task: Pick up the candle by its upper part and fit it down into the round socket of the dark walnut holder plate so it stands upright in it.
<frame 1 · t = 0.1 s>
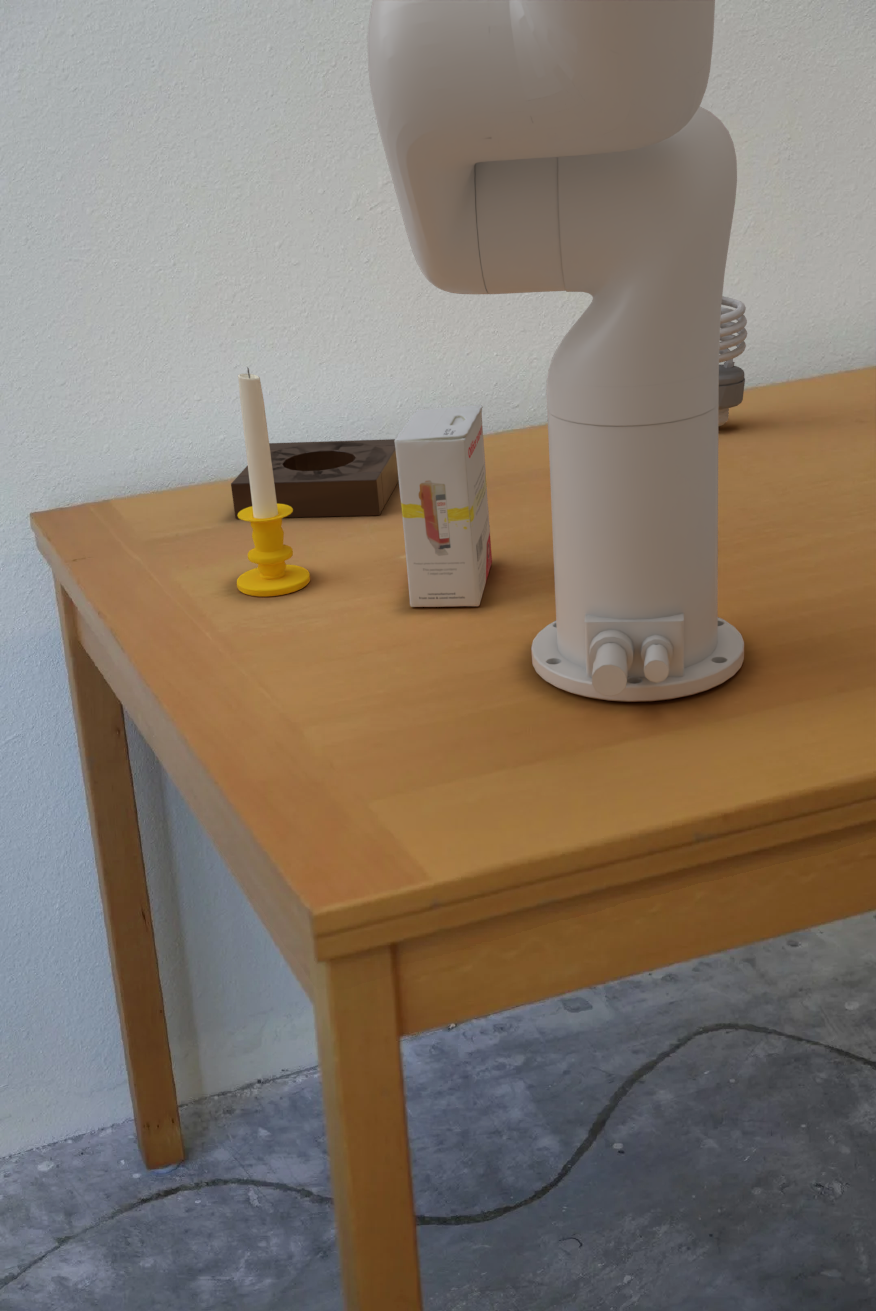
ink box: (452, 588, 103), on the table
holder: (322, 494, 125), on the table
light bulb: (714, 430, 135), on the table
candle: (274, 586, 106), on the table
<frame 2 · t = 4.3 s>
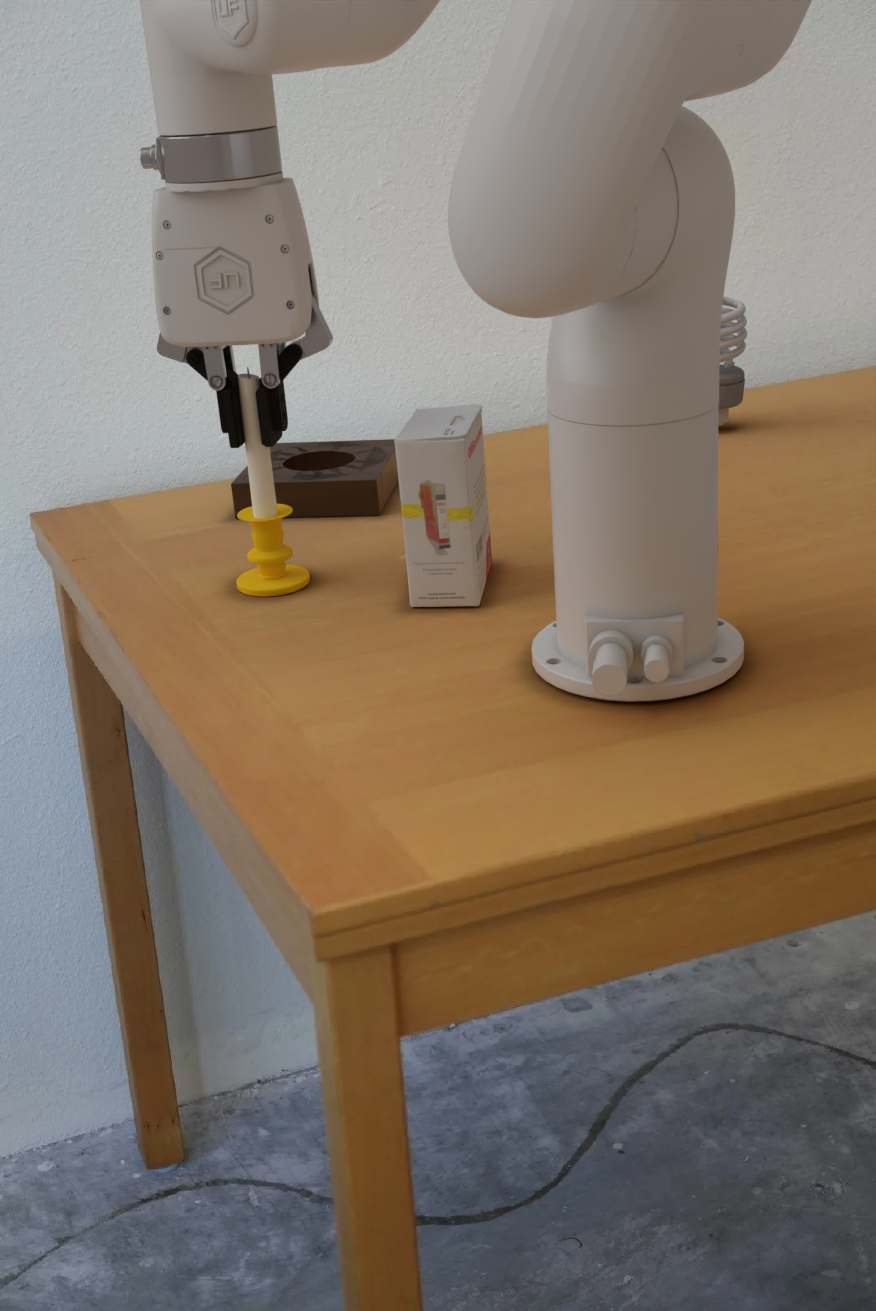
hand: (256, 440, 101), 11 cm above the table, tool pointing down, fingers closed on candle
candle: (274, 586, 106), on the table, touching gripper
everything else where it was.
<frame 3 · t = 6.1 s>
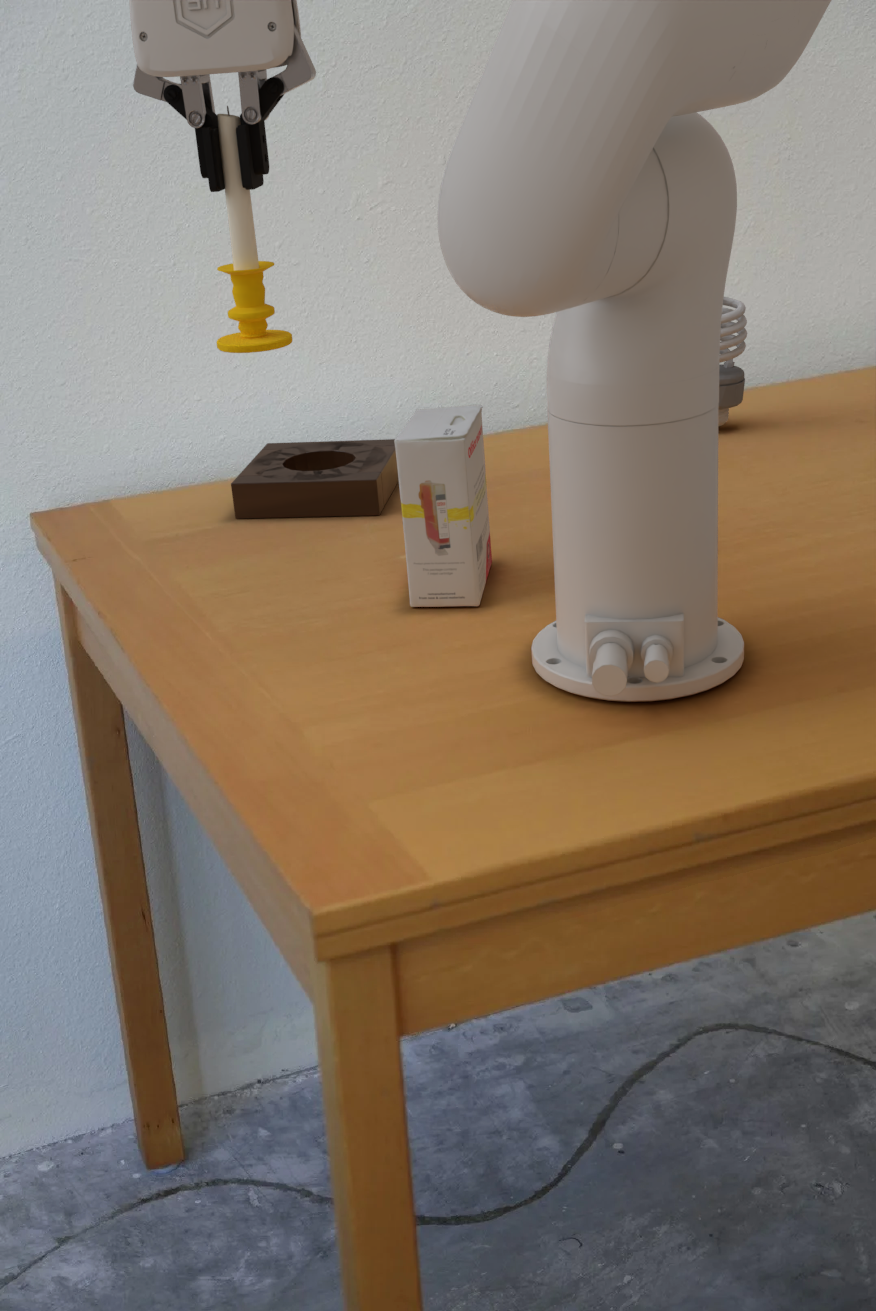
hand: (237, 186, 98), 27 cm above the table, tool pointing down, fingers closed on candle
candle: (255, 347, 102), point 16 cm above the table, touching gripper
everything else where it was.
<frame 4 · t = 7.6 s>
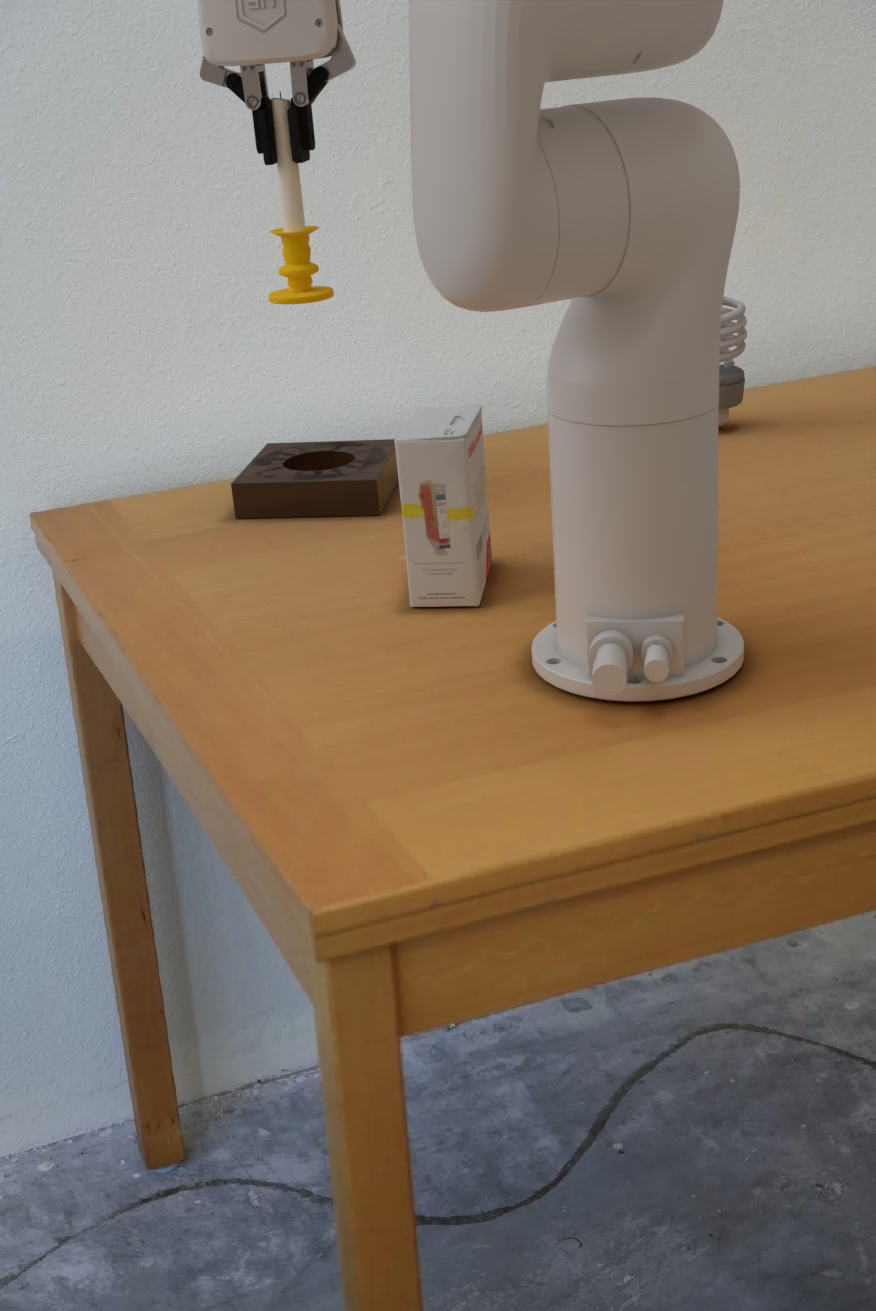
hand: (287, 160, 114), 27 cm above the table, tool pointing down, fingers closed on candle
candle: (301, 300, 118), point 16 cm above the table, touching gripper
everything else where it was.
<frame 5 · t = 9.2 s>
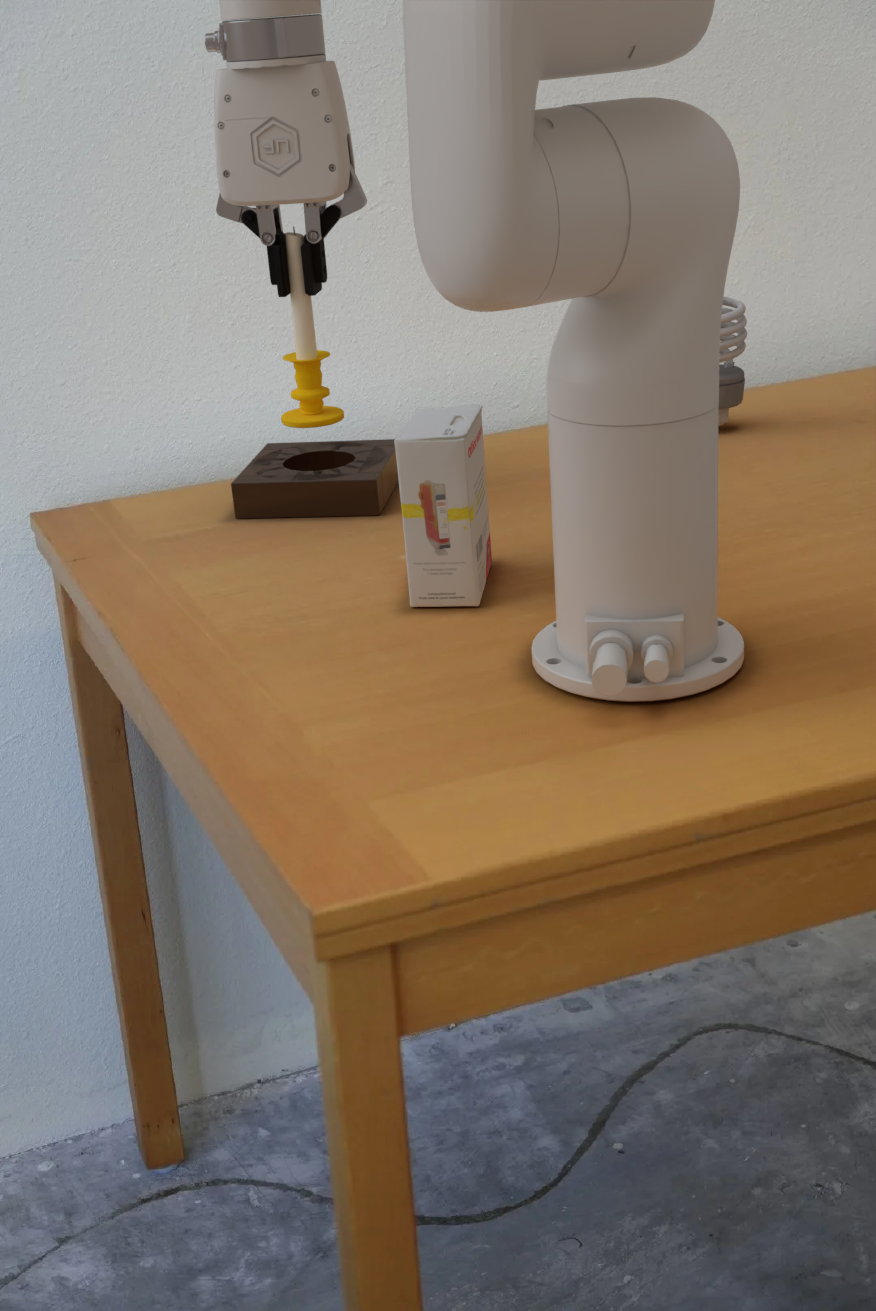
hand: (300, 291, 118), 17 cm above the table, tool pointing down, fingers closed on candle
candle: (313, 422, 122), point 6 cm above the table, touching gripper
everything else where it was.
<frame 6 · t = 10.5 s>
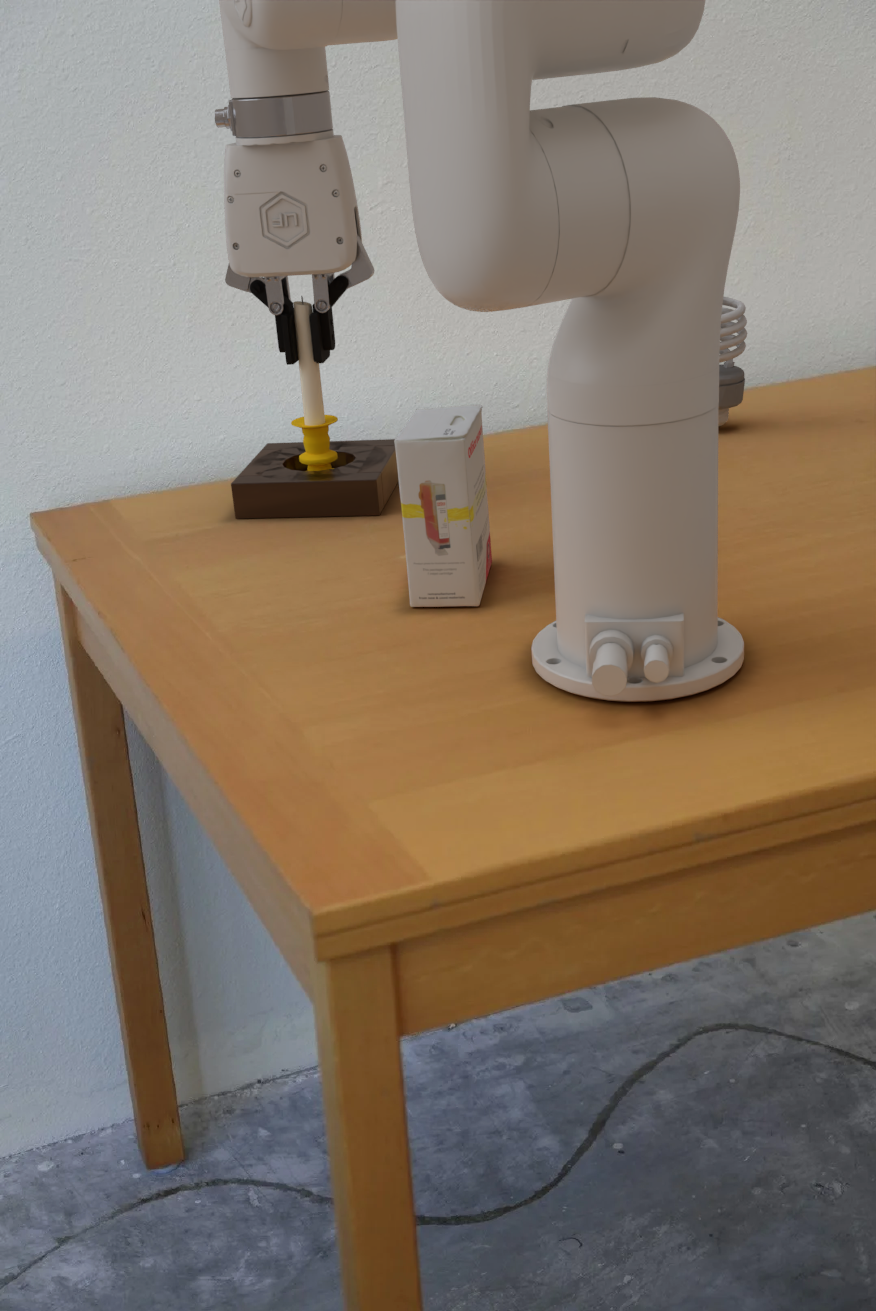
hand: (308, 358, 120), 12 cm above the table, tool pointing down, fingers closed on candle
candle: (321, 485, 124), point 1 cm above the table, touching gripper
everything else where it was.
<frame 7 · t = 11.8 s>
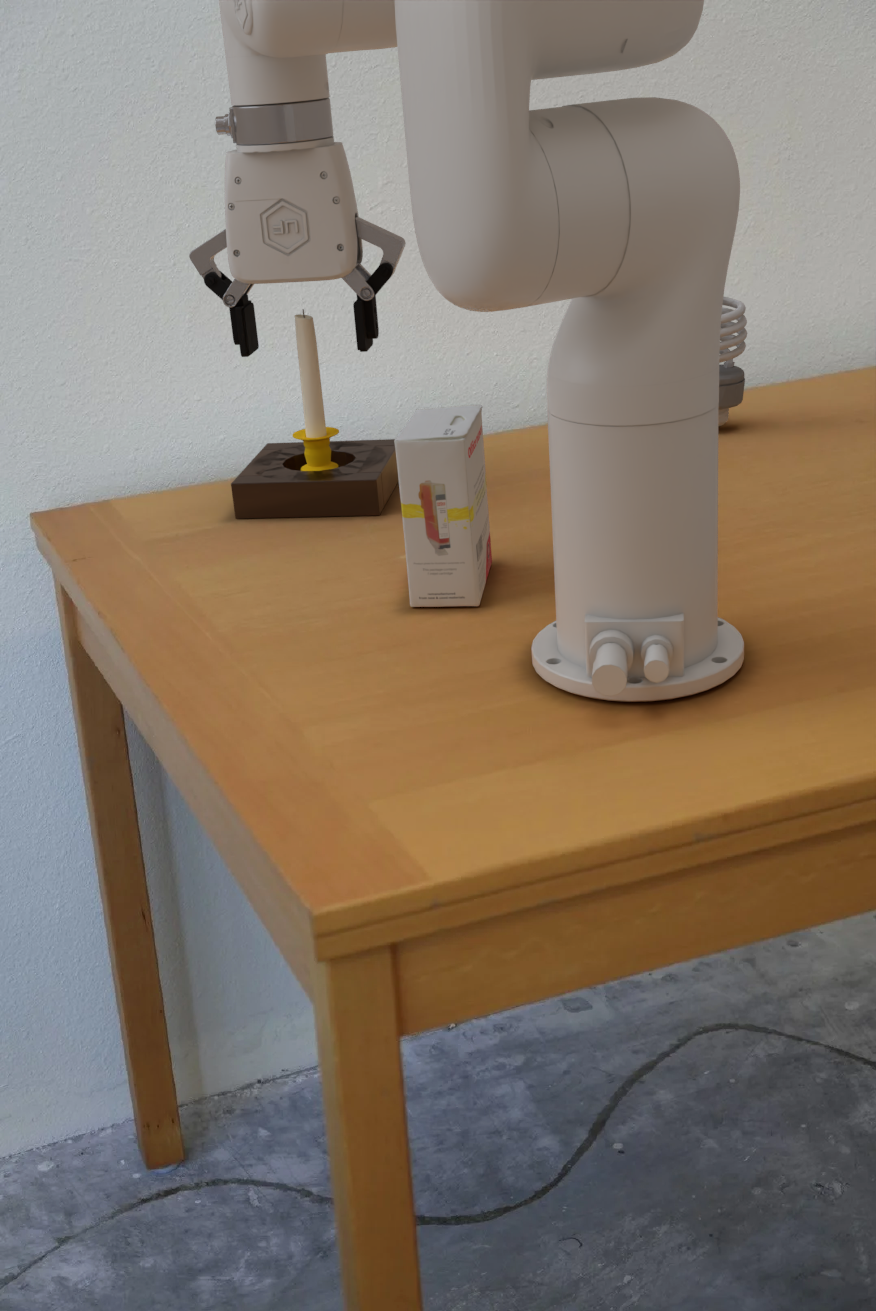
hand: (307, 350, 120), 12 cm above the table, tool pointing down, fingers open, 9 cm apart
candle: (322, 497, 125), resting in holder
everything else where it was.
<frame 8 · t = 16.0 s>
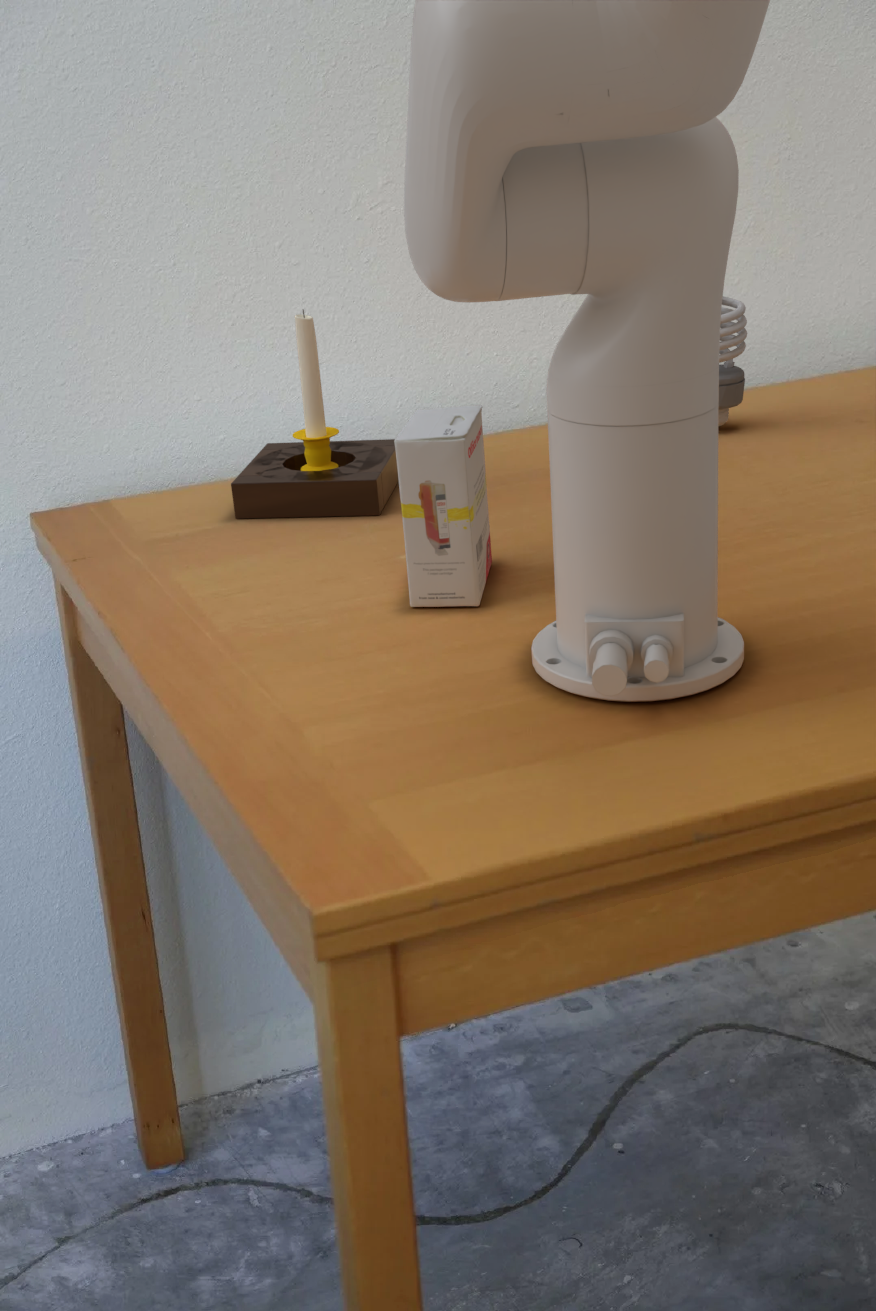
hand: (517, 58, 100), 33 cm above the table, tool pointing down, fingers open, 9 cm apart
nothing on the table moved.
at the end: candle 0.1 cm off-centre in the holder, point 0.0 cm above the holder's base; candle tilted 0°; the gripper is holding nothing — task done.
